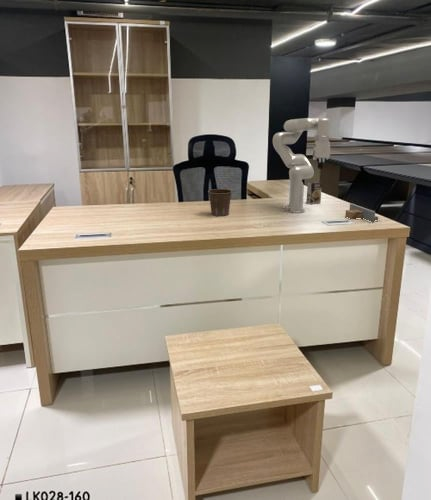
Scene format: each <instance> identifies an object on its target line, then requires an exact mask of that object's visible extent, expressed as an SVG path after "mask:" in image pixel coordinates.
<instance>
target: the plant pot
mask: <svg viewBox="0 0 431 500" xmlns="http://www.w3.org/2000/svg"><path fill="white" fill-rule="evenodd" d="M207 192H208V196H209V205H210V213H211V214H210V215H212V216H214V217H215V216H216V217H223V216H224V217H227V216H228V215H230V206H231V199H232V193H233V190H231V189H228V188H227V189H225V188H223V189H222V188H214V189H209V190H208V191H207Z"/></svg>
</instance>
